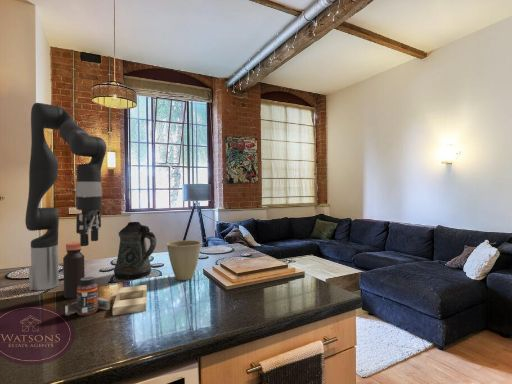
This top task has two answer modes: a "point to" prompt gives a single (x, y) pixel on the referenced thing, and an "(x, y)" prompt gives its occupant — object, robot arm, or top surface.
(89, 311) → the supplement bottle
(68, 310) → the aluminium v block
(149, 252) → the beer stein
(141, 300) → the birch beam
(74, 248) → the vinegar
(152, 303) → the top surface
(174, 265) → the plant pot
